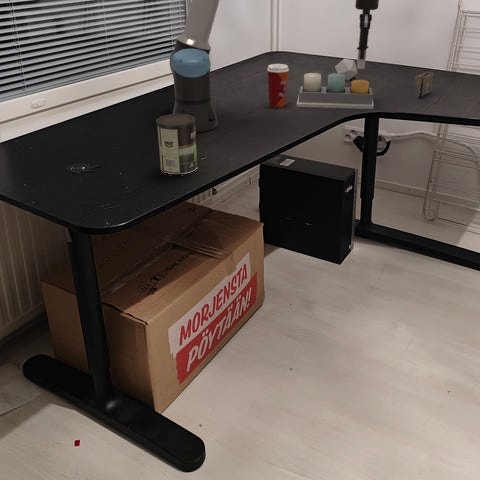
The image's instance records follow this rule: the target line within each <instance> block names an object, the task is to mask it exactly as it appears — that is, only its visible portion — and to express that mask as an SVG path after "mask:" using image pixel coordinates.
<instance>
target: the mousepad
mask: <svg viewBox="0 0 480 480" xmlns="http://www.w3.org/2000/svg"><path fill="white" fill-rule="evenodd" d="M73 167H74V168H73ZM100 167H102V165H101V164H95V165H92V166H90V164H88V163H84V162H81V163H73V164H69V165H68V166H67V167H66V171H67V172H68V171H69V172H68V173H71V172H72V173H71V174H74V173H76V174H75V175H78V174H81V175H83V173H93V172H95V170H94V169H97V168H100ZM72 168H73V169H74V170H72Z"/></svg>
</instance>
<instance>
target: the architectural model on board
mask: <svg viewBox="0 0 480 480" xmlns="http://www.w3.org/2000/svg"><path fill="white" fill-rule="evenodd" d="M433 78H434V72H428V71H426V72H424V73H422V74H418V75H416V76H415V78H414V79H413V80H414V82H413V90H412V96H420V97H421V95H422V94H424V93H425V92H427V91H428V90H429V89H431V90H432V87H433ZM420 91H421V94H420Z"/></svg>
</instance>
